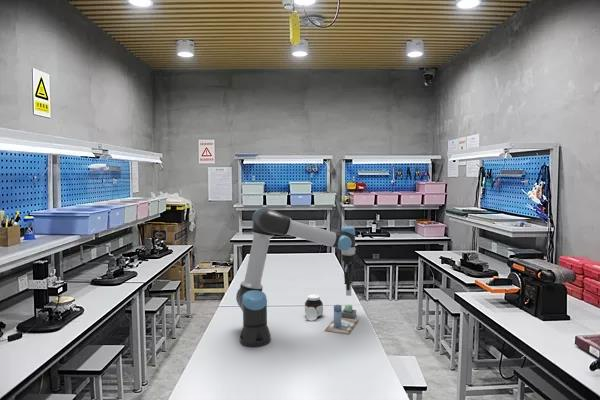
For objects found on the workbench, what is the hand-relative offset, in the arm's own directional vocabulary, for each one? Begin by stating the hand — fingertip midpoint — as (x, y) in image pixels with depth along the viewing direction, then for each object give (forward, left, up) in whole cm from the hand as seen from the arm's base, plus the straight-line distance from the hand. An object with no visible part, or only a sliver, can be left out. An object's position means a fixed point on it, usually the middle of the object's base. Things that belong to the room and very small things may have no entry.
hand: (348, 295), depth 229 cm
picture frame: (-15, 0, -12) cm, 19 cm away
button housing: (0, 0, -12) cm, 12 cm away
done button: (0, 0, -10) cm, 10 cm away
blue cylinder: (-18, +1, -12) cm, 22 cm away
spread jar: (-9, +18, -13) cm, 24 cm away
